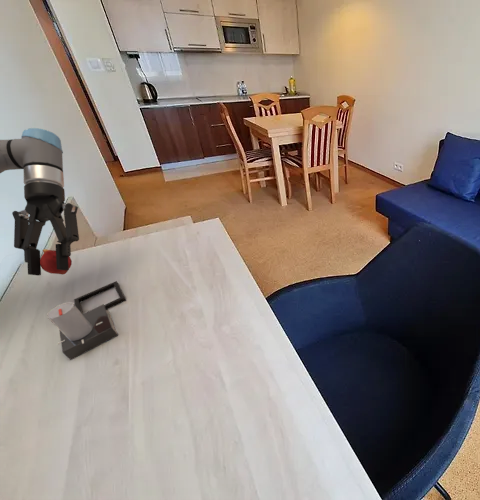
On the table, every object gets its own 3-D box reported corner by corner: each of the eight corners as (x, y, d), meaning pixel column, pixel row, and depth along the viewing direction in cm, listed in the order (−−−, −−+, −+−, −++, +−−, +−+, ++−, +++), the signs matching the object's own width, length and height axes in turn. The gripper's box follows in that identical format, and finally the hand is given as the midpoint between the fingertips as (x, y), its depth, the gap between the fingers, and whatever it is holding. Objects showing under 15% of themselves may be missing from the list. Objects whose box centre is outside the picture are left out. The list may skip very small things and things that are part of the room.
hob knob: (67, 333, 75) (45, 309, 70) (91, 321, 77) (71, 298, 72) (69, 344, 71) (46, 320, 67) (94, 332, 74) (73, 308, 69)
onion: (76, 264, 84) (58, 240, 80) (79, 272, 81) (60, 248, 76) (50, 274, 81) (30, 249, 76) (52, 283, 78) (31, 258, 73)
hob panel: (62, 333, 79) (55, 325, 77) (109, 311, 84) (103, 303, 82) (67, 363, 71) (58, 355, 69) (118, 336, 76) (112, 328, 75)
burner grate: (76, 302, 89) (73, 299, 88) (118, 283, 94) (116, 280, 94) (80, 322, 82) (78, 318, 81) (126, 300, 88) (124, 297, 87)
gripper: (93, 186, 85) (99, 266, 81) (18, 197, 82) (21, 281, 78) (72, 175, 78) (78, 262, 74) (-11, 186, 75) (-10, 278, 71)
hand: (48, 272), depth 76 cm, fingers closed on onion, 6 cm apart
